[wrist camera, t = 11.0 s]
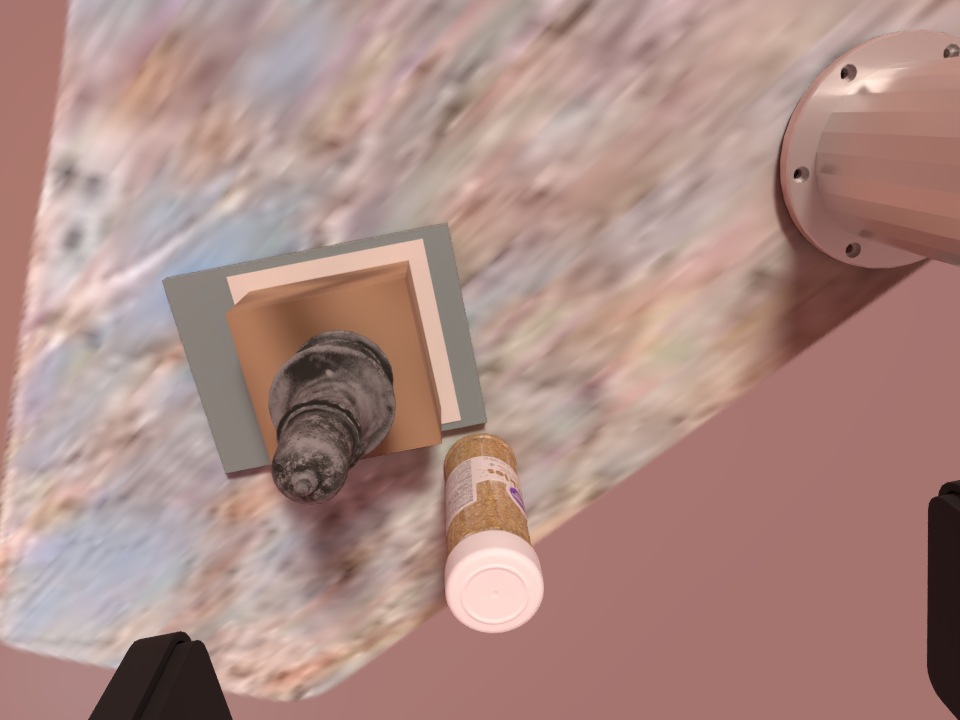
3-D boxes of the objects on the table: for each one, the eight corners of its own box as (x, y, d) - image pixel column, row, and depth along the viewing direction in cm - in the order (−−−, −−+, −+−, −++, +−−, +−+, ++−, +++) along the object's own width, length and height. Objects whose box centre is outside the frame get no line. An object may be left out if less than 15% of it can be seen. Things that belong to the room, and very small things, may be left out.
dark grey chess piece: (366, 451, 39) (338, 588, 28) (263, 401, 38) (190, 523, 27) (419, 358, 38) (412, 462, 27) (314, 303, 37) (259, 387, 25)
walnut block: (408, 260, 41) (405, 278, 37) (441, 408, 44) (441, 443, 39) (249, 291, 41) (225, 314, 37) (292, 437, 44) (274, 475, 40)
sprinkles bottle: (530, 461, 47) (566, 591, 34) (481, 509, 48) (497, 654, 35) (477, 415, 46) (493, 533, 33) (427, 466, 46) (423, 600, 34)
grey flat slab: (447, 222, 42) (447, 224, 41) (486, 417, 46) (487, 422, 45) (166, 277, 42) (161, 280, 41) (229, 467, 46) (225, 474, 45)
